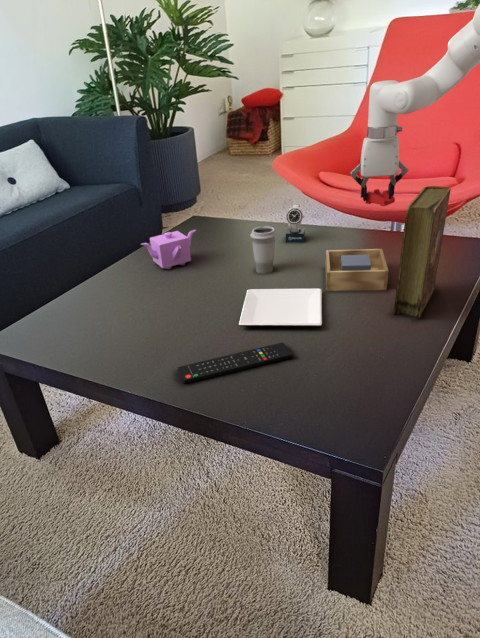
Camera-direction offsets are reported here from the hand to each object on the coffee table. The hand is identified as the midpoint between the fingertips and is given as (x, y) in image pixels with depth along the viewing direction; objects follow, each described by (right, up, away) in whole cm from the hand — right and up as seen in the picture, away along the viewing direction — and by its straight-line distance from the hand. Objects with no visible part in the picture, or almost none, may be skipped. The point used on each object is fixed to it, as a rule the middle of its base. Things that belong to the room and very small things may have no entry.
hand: (376, 198), depth 152 cm
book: (-1, -35, -28) cm, 45 cm away
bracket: (+1, -1, 0) cm, 2 cm away
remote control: (-44, -50, -43) cm, 79 cm away
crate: (-11, -26, -15) cm, 32 cm away
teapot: (-60, -18, +6) cm, 63 cm away
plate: (-32, -36, -25) cm, 55 cm away
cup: (-33, -22, -4) cm, 40 cm away
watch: (-21, -9, +13) cm, 27 cm away
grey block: (-11, -26, -15) cm, 32 cm away
